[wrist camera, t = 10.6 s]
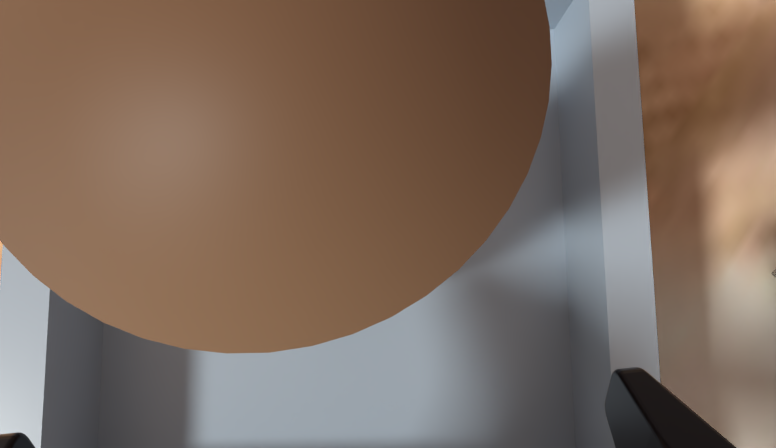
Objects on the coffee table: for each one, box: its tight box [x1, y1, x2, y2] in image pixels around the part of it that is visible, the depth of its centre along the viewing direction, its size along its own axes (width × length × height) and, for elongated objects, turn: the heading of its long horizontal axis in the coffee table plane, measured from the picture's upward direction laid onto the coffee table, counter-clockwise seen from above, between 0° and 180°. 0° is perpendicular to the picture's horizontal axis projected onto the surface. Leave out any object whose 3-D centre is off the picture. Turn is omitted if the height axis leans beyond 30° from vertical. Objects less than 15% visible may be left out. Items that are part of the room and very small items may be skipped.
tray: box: [0, 0, 661, 448], centre depth 17 cm, size 16×16×4 cm
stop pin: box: [0, 0, 552, 354], centre depth 11 cm, size 4×4×14 cm
